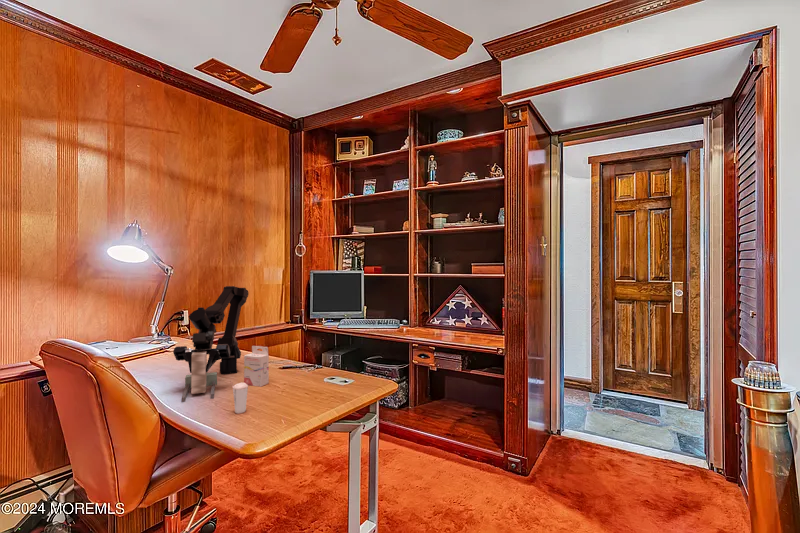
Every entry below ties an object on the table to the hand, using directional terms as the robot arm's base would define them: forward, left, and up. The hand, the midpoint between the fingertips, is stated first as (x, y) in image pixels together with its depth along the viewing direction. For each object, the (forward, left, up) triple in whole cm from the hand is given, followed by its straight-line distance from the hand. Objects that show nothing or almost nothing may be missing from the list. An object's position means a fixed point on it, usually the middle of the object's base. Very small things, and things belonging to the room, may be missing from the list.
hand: (198, 372), depth 143 cm
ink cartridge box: (-20, -6, -9) cm, 23 cm away
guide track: (0, -5, -8) cm, 10 cm away
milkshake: (-13, +24, -9) cm, 29 cm away
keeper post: (0, -1, -7) cm, 7 cm away
